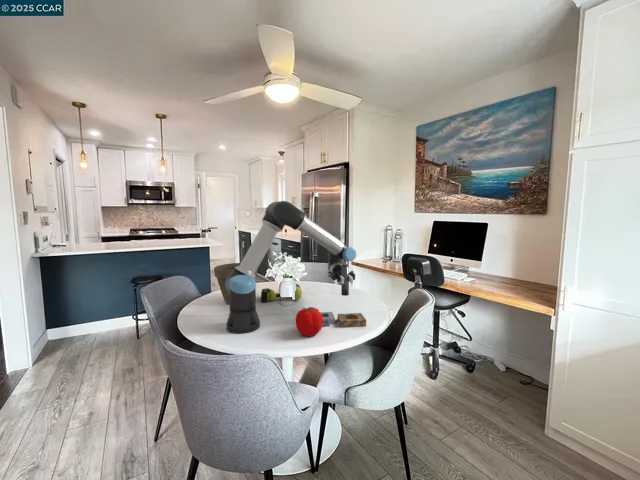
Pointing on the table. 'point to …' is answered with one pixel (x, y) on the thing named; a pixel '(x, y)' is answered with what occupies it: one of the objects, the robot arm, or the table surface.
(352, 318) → the frame
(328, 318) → the socket collar
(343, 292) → the metal bottle
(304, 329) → the tomato
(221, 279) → the plant pot
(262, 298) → the cordless drill
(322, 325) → the bar
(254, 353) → the table surface
